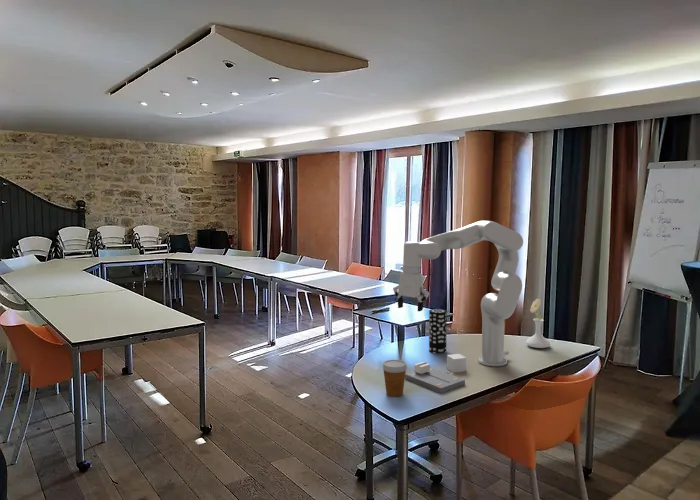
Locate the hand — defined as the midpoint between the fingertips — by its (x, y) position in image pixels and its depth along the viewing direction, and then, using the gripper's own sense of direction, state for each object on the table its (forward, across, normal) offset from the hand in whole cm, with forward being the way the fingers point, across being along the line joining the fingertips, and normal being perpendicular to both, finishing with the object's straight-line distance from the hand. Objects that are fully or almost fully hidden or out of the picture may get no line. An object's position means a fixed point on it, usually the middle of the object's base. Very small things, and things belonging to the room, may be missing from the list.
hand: (410, 309), depth 218 cm
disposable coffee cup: (+28, +10, -27) cm, 40 cm away
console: (+26, +16, -7) cm, 32 cm away
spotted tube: (+26, -1, +30) cm, 40 cm away
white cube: (+26, +18, +11) cm, 34 cm away
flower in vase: (+24, +38, +64) cm, 78 cm away
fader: (+24, +10, -5) cm, 27 cm away
